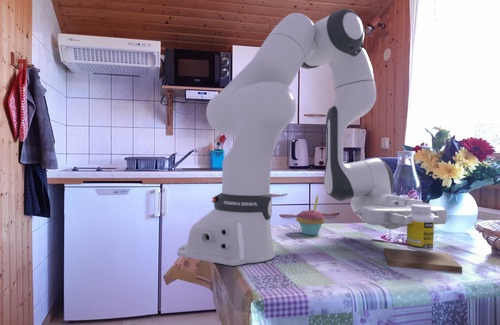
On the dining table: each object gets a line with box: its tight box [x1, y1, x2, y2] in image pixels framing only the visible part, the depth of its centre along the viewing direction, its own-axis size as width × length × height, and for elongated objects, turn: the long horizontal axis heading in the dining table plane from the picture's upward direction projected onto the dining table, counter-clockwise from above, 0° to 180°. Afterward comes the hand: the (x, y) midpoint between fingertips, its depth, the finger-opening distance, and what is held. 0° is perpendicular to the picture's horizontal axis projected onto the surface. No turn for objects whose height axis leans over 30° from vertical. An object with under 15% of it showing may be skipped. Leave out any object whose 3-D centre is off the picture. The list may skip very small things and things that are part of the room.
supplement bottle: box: [406, 204, 435, 252], centre depth 79 cm, size 5×5×10 cm
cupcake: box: [295, 194, 326, 236], centre depth 107 cm, size 9×8×12 cm
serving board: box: [383, 247, 463, 273], centre depth 79 cm, size 14×11×1 cm
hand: (423, 220), depth 78 cm, fingers closed on supplement bottle, 5 cm apart
